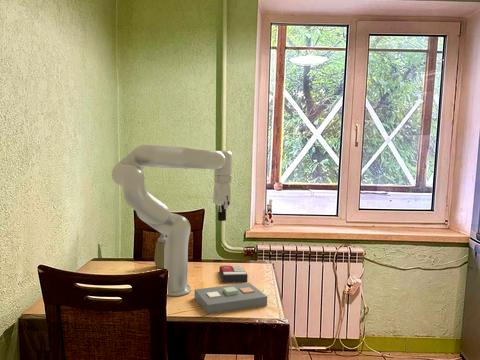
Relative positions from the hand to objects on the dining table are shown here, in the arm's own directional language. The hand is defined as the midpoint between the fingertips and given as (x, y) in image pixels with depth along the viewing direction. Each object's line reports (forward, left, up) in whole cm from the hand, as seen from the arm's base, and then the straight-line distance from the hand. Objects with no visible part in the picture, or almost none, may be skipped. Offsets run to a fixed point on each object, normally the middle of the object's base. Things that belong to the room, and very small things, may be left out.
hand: (221, 220), depth 181 cm
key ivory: (-12, -24, -26) cm, 37 cm away
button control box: (+7, +3, -28) cm, 29 cm away
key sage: (-5, -24, -25) cm, 35 cm away
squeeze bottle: (-20, +26, -27) cm, 43 cm away
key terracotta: (+2, -24, -26) cm, 35 cm away
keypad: (-5, -24, -27) cm, 36 cm away
